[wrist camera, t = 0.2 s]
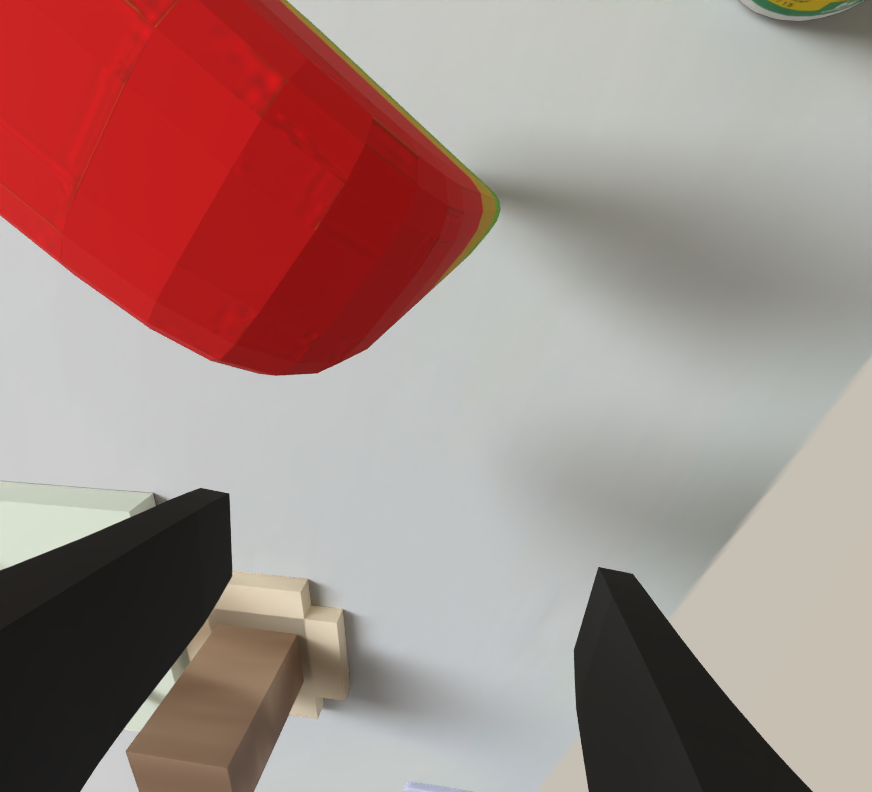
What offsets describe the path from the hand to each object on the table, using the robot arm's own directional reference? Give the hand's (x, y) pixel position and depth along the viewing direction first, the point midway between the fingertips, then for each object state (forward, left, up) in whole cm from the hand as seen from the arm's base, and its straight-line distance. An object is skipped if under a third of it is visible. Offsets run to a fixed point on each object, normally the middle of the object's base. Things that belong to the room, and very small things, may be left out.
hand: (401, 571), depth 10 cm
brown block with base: (-13, +9, -10) cm, 19 cm away
